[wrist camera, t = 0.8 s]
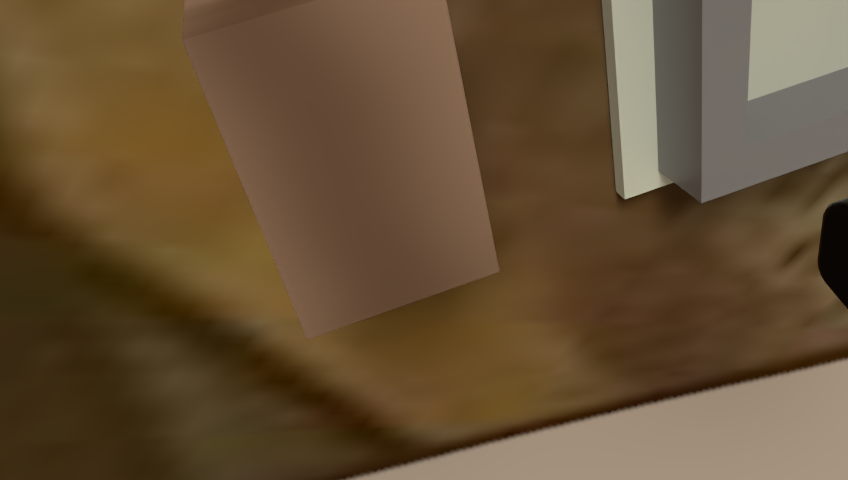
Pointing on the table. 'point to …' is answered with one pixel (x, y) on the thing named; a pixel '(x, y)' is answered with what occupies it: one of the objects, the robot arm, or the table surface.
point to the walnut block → (348, 147)
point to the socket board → (723, 91)
